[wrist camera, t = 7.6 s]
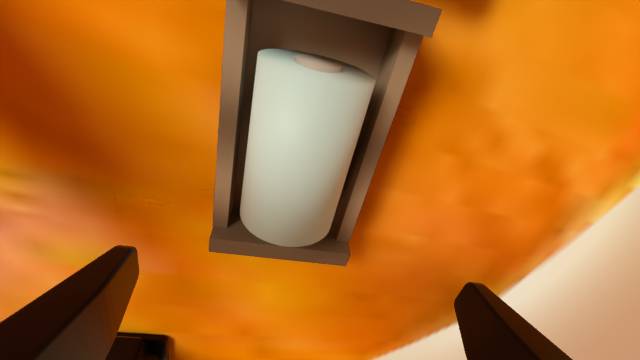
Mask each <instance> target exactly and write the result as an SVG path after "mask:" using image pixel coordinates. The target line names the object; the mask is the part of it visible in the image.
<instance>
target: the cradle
mask: <svg viewBox="0 0 640 360" xmlns="http://www.w3.org/2000/svg"><path fill="white" fill-rule="evenodd" d="M441 11H442V9H439V8H435V7H431V6H427V5H424V4H420V3H416V2H412V1H409V0H226V14H225V31H224V47H223V64H222V80H221V97H220V113H219V130H218V146H217V163H216V179H215V196H214V212H213V226H214V227H213V230H212V233H211V236H210V241H209V252H218V253H227V254H237V255H246V256H255V257H265V258H274V259H284V260H293V261H303V262H312V263H322V264H331V265H341V266H346V265H347V262H348V259H349V257H350V250H349V245H348V242H349V240H350V238H351V235H352V232H353V229H354V226H355V224H356V221H357V218H358V215H359V213H360V210H361V207H362V204H363V202H364V199H365V196H366V193H367V190H368V188H369V185H370V182H371V179H372V177H373V174H374V171H375V168H376V166H377V163H378V160H379V157H380V154H381V152H382V149H383V146H384V143H385V141H386V138H387V135H388V132H389V130H390V127H391V124H392V121H393V119H394V116H395V113H396V110H397V107H398V105H399V102H400V99H401V96H402V94H403V91H404V88H405V85H406V83H407V80H408V77H409V74H410V71H411V69H412V66H413V63H414V60H415V58H416V55H417V52H418V49H419V47H420V44H421V41H422V38H423V35H424V36H428V37H432V35H433V32H434V30H435V27H436V24H437V22H438V19H439V16H440V14H441ZM264 49H289V50H297V51H303V52H308V53H313V54H317V55H322V56H326V57H329V58H333V59H336V60H339V61H342V62H345V63H348V64H351V65H353V66H356V67H358V68H360V69H362V70H364V71H366V72H368V73H369V74H371V75H372V76H373V77H374V78H375V80H376V82H375V85H374V89H373V92H372V95H371V98H370V102H369V105H368V108H367V111H366V114H365V118H364V121H363V124H362V127H361V131H360V134H359V137H358V140H357V144H356V147H355V150H354V153H353V156H352V160H351V163H350V166H349V169H348V173H347V176H346V179H345V182H344V186H343V189H342V192H341V195H340V198H339V202H338V205H337V208H336V211H335V215H334V218H333V221H332V224H331V228H330V230H329V232H328V234H327V235H326V236H325V237H324V238H323V239H321V240H320V241H318V242H316V243H314V244H311V245H307V246H301V247H285V246H279V245H275V244H271V243H269V242H266V241H264V240H262V239H260V238H258V237H256V236H255V235H253V234H252V233H251V232H250V231H249V230H248V229H247V228H246V227H245V225H244V224H243V222H242V220H241V217H240V205H241V196H242V187H243V178H244V170H245V161H246V152H247V143H248V134H249V125H250V117H251V108H252V99H253V90H254V81H255V72H256V64H257V55H258V52H259V51H261V50H264Z"/></svg>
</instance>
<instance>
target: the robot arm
mask: <svg viewBox="0 0 640 360" xmlns="http://www.w3.org/2000/svg"><path fill="white" fill-rule="evenodd" d="M138 275H139V264H138V255H137V249H136V248H135V247H132V246H122V245H118V246H115V247H113V248H112V249H110V250H109V251H107V252H106V253H104V254H103V255H101V256H100V257H98V258H97V259H95V260H94V261H92V262H91V263H89V264H88V265H86V266H85V267H83V268H82V269H80V270H79V271H77V272H76V273H74V274H73V275H71V276H70V277H68V278H67V279H65V280H64V281H62V282H61V283H59V284H58V285H56V286H55V287H53V288H52V289H50V290H49V291H47V292H46V293H44V294H43V295H41V296H40V297H38V298H37V299H35V300H34V301H32V302H31V303H29V304H27V305H26V306H24V307H23V308H21V309H20V310H18V311H17V312H15V313H14V314H12V315H11V316H9V317H8V318H6V319H5V320H3V321H2V322H0V360H169V352H168V338H167V337H165V336H155V335H139V334H122V333H117V332H118V330H119V327H120V324H121V322H122V319H123V316H124V314H125V311H126V308H127V306H128V303H129V300H130V298H131V295H132V292H133V290H134V287H135V285H136V282H137V279H138ZM454 308H455V312H456V316H457V321H458V325H459V329H460V333H461V337H462V341H463V345H464V350H465V354H466V357H467V360H572V359H571V358H570V357H569V356H568V355H566V354H565V353H564V352H563V351H562V350H561V349H559V348H558V347H557V346H556V345H554V344H553V343H552V342H551V341H550V340H549V339H547V338H546V337H545V336H544V335H543V334H542V333H540V332H539V331H538V330H537V329H535V328H534V327H533V326H532V325H531V324H530V323H528V322H527V321H526V320H525V319H524V318H522V317H521V316H520V315H519V314H518V313H516V312H515V311H514V310H513V309H512V308H511V307H510V306H508V305H507V304H506V303H505V302H503V301H502V300H501V299H500V298H499V297H498V296H496V295H495V294H494V293H493V292H492V291H491V290H489V289H488V288H487V287H486V286H485V285H483V284H481V283H473V282H468V283H466V284H465V286H464V287H463V289H462V290H461V291H460V293H459V294H458V296H457V297H456V299H455V302H454Z"/></svg>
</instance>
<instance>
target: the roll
mask: <svg viewBox="0 0 640 360" xmlns="http://www.w3.org/2000/svg"><path fill="white" fill-rule="evenodd" d="M375 82H376V80H375V78H374V77H373V76H372V75H371V74H369V73H368V72H366V71H364V70H362V69H360V68H358V67H356V66H353V65H351V64H348V63H345V62H342V61H339V60H336V59H333V58H329V57H326V56H322V55H317V54H313V53H308V52H303V51H297V50H289V49H264V50H261V51H259V52H258V55H257V64H256V72H255V81H254V90H253V99H252V108H251V117H250V125H249V134H248V143H247V152H246V161H245V170H244V178H243V187H242V196H241V205H240V217H241V220H242V222H243V224H244V225H245V227H246V228H247V229H248V230H249V231H250V232H251V233H252V234H253V235H255V236H256V237H258V238H260V239H262V240H264V241H266V242H269V243H271V244H275V245H279V246H285V247H301V246H307V245H311V244H314V243H316V242H318V241H320V240H321V239H323V238H324V237H325V236H326V235H327V234H328V232H329V230H330V228H331V224H332V221H333V218H334V215H335V211H336V208H337V205H338V202H339V198H340V195H341V192H342V189H343V186H344V182H345V179H346V176H347V173H348V169H349V166H350V163H351V160H352V156H353V153H354V150H355V147H356V144H357V140H358V137H359V134H360V131H361V127H362V124H363V121H364V118H365V114H366V111H367V108H368V105H369V102H370V98H371V95H372V92H373V89H374V85H375Z"/></svg>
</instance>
